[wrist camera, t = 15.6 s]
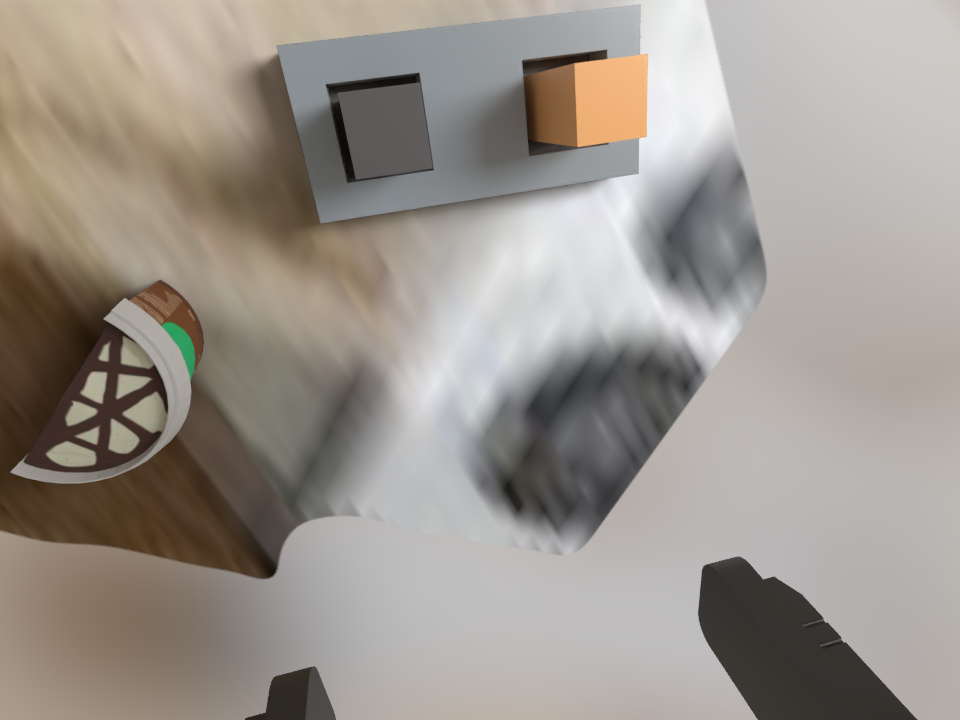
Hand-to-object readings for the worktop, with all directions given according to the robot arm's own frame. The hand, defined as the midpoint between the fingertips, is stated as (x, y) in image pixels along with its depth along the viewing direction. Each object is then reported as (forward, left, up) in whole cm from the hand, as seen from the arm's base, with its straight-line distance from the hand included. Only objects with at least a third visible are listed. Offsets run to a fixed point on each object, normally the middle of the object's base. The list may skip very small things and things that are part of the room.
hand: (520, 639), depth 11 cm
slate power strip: (+6, +9, -32) cm, 34 cm away
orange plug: (+12, +9, -32) cm, 35 cm away
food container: (-18, -4, -32) cm, 37 cm away
